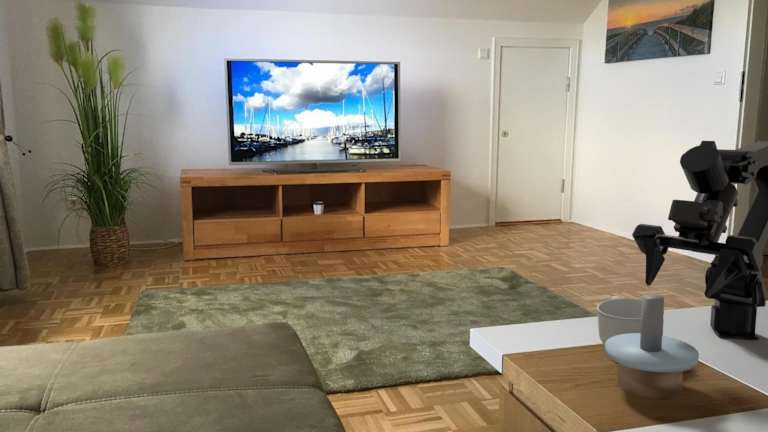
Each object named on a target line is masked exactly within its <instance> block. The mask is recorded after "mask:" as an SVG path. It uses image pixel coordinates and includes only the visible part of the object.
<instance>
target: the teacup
mask: <svg viewBox="0 0 768 432" xmlns="http://www.w3.org/2000/svg"><path fill="white" fill-rule="evenodd" d="M596 311H597V326H598V335H599V336H598V337H599V339H600V341H601V343H602V344H603V345H604V346H605V342H606V341H607V340H608V339H609V338H611V337H613V336H616V335H621V334H628V333H641V313H642V298H634V297H632V298H631V297H630V298H629V297H628V298H627V297H626V298H625V297H624V298H623V297H620V296H618V295H613V296H611V297H610V299H608V300H604V301H602V302H600V303H599V304H597V306H596ZM664 314H665V310H664V311H663V315H664ZM662 336H664V329H663V330H662Z"/></svg>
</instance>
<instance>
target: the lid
mask: <svg viewBox="0 0 768 432" xmlns="http://www.w3.org/2000/svg"><path fill="white" fill-rule="evenodd" d="M641 299H642V313H641V333H628V334H621V335H616V336H613V337H611V338H609V339H608V340H607V341H606V342H605V345H604V351H605V354H606V356H607V357H608V358H609V359H610V360H612V361H613V362H616V363H617V364H618V363H619V364H622V365H625V366H627V367H631V368H635V369H639V370H644V371H651V372H680V371H683V372H684V371H689V370H692V369H693V368H695V367H697V365H698V364H699V352H698V350H697V349H696V347H694V346H693V345H691V344H690V343H688V342H686V341H684V340H681V339H678V338H674V337H670V336H667V335H663V336H662V330H663V331H664V314H663V311H664V312H665V307H664V306H665V297H664V296H662V295H659V294H652V293H651V294H650V293H649V294H643V295H642V297H641Z"/></svg>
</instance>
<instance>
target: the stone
mask: <svg viewBox="0 0 768 432" xmlns="http://www.w3.org/2000/svg"><path fill="white" fill-rule="evenodd" d="M683 373H684V371H680V372H651V371H644V370H639V369H635V368H631V367H627V366H625V365H622V364H619V363H617V384H618V385H617V386H618V387H619V388H620V389H622V390H623V391H625V392H626V393H629V394H630V395H633V396H636V397H640V398H643V399H650V400H651V399H652V400H668V399H674V398H676V397H678V396H680V394H682V388H683V386H682V385H683Z"/></svg>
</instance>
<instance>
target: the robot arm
mask: <svg viewBox="0 0 768 432" xmlns="http://www.w3.org/2000/svg"><path fill="white" fill-rule="evenodd" d="M679 164H680V166H681V169H682V171H683V173H684V176H685V177H686V181H687V182H688V185H689V188H690V189H691V190H692V191H693V192H695V193H696V195H695V198H694V200H684V199H683V200H682V199H672V201H671V205H670V208H669V213H668V217H667V220H669V221H672V222H673V223H674V225H673V230H674V231H675V232H676V233H678V235H677V236H676V235H670V234H666V233H665V231H664V229H663V228H662V226H661V225H656V224H655V225H652V224H645V223H639V224H637V226H635V228H634V230H633V231H632V234H631V236H632V238H633V239H634V242H635V243H636V245H637V247H638V248H639V250H640V252H641V253H642V254H644V255H645V284H646V286H647V287H650V286H651V285H652V283H653V282H654V281H655V279H656V277H657V276H658V274H659V272H660V270H661V267H662V266H663V264H664V263H665V260H666V258H665V255H666V254H667V252H668V251H669V248H670V249H675V250H683V251H689V252H692V253H698V254H706V255H711V256H712V255H714V258H713V259H712V261H711V262H710V266H708V268H707V269H706V271H705V276H704V282H705V290H704V297H705V298H707V299H708V300H709V299H710V300H711V299H713V300H714V304H712V305H711V307H710V309H711V310H710V321H709V322H710V323H709V324H710V327H711V328H712V330H713V331H714V332H715V333H716V335H717V336H718V337H719V338H726V339H727V338H728V339H729V338H731V339H746V340H748V339H749V340H751V339H752V340H759V335H758V334H757V333H756V326H757V325H756V324H757V316H758V315H757V314H758V308H762V307H763V308H764V307H766V304H767V299H768V296H767V295H768V289H767V287H766V284H765V282H764V279H763V274H762V270H761V267H762V265H763V263H764V256H763V250H764V248H765V246H766V243H767V242H768V138H759V139H756V140H755V141H754V142H752V143H749V144H747V145H745V146H741V147H740V148H736V149H718V147H717V144H716V141H715V140H701V142H700V144H699V145H696V146H693V147H691V148H689V149H688V150H687V151H685V152H684V153H683V154H682V155H681V156H680V160H679ZM753 180H754V184H755V188H756V191H757V192H756V194H755V196H754V198H753V201H752V203H751V206H750V207H749V210H748V212H747V213H746V216H745V218H744V219H743V223H742V224H741V227H740V229H739V230H738V231H739V232H738V233H737V235H734V234H730V235H727V236H726V240H725V241H724V242H719V241H720V239H721V236H722V234H726V233H727V230H728V226H727V221H728V219H729V217H730V214H731V212H732V210H733V208H735V207H738V206H739V199H738V195H739V191H738V190H737V186H735V185H745V186H746V185H749V184H750V183H751V182H752V181H753Z"/></svg>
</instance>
